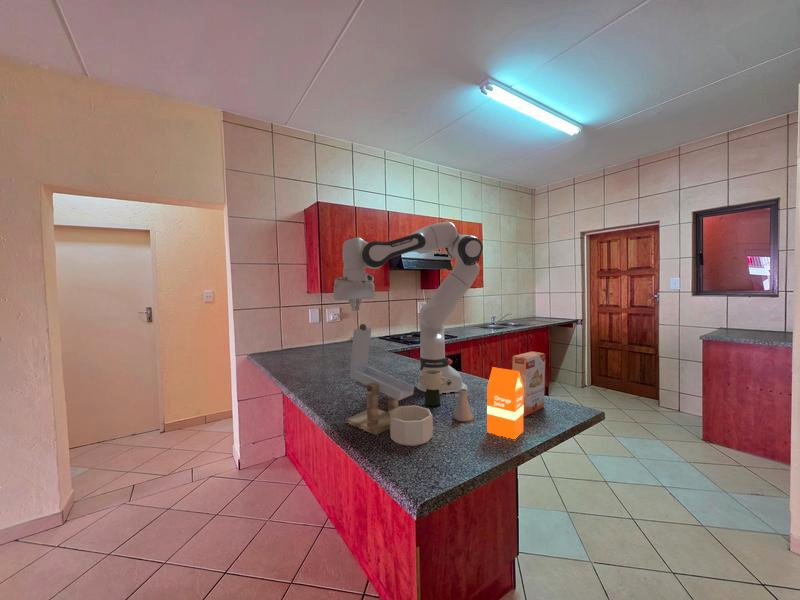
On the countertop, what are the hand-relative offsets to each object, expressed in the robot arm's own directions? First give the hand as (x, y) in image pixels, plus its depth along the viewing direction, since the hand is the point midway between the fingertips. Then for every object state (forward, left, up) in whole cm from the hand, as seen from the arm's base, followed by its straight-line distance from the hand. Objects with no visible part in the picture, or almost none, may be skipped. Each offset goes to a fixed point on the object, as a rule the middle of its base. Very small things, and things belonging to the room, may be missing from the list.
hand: (355, 310), depth 131 cm
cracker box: (-64, +22, -37) cm, 77 cm away
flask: (-38, +26, -37) cm, 59 cm away
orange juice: (-48, +38, -37) cm, 71 cm away
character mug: (-30, +12, -37) cm, 49 cm away
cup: (-18, +37, -37) cm, 55 cm away
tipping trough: (-9, +27, -25) cm, 38 cm away
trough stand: (-7, +26, -36) cm, 45 cm away
